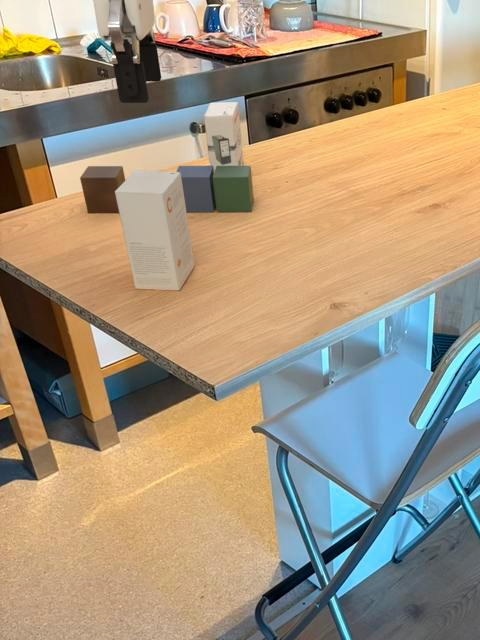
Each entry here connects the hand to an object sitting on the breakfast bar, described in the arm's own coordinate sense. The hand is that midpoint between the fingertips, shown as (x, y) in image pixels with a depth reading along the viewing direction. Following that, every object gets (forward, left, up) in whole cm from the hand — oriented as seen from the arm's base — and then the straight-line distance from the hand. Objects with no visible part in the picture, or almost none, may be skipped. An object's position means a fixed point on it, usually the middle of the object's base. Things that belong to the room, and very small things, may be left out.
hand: (141, 91), depth 96 cm
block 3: (+6, +27, -23) cm, 36 cm away
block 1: (-14, +27, -23) cm, 39 cm away
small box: (-1, 0, -24) cm, 24 cm away
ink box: (+4, +39, -24) cm, 46 cm away
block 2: (0, +27, -23) cm, 36 cm away
